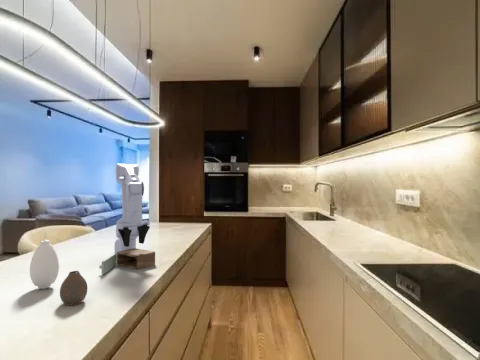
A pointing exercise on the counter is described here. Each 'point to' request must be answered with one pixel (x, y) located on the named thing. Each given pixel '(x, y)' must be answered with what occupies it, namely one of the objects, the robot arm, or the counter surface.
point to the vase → (73, 289)
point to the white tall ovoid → (44, 265)
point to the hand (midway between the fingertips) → (134, 244)
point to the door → (108, 263)
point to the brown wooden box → (136, 258)
